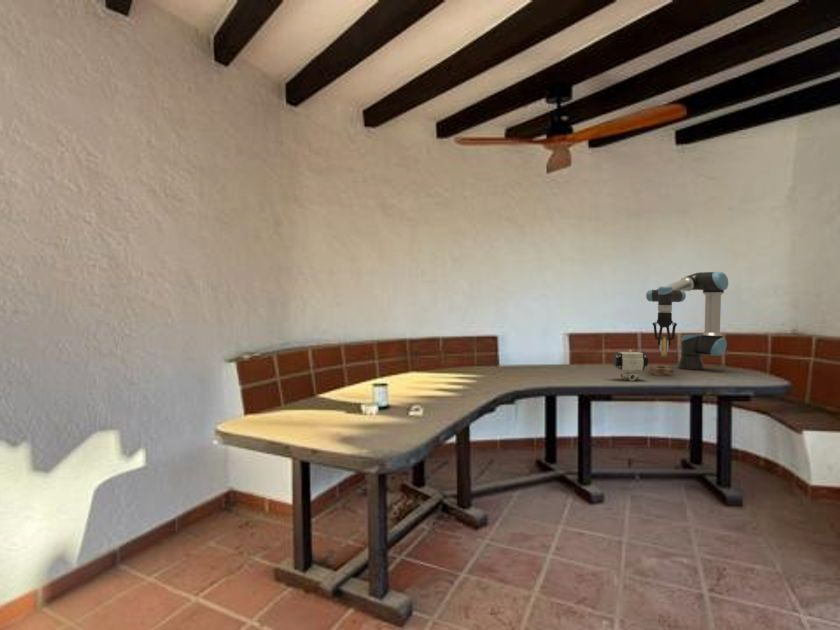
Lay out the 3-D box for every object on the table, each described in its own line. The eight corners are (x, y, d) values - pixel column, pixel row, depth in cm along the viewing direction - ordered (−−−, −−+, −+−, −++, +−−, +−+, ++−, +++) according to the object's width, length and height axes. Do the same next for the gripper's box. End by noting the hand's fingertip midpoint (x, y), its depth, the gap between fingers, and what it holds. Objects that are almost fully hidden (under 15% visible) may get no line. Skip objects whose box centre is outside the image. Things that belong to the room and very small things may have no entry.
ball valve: (616, 381, 278) (617, 350, 277) (612, 378, 287) (612, 348, 286) (648, 381, 277) (649, 351, 276) (643, 378, 285) (643, 349, 284)
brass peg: (666, 356, 291) (666, 336, 290) (667, 357, 288) (667, 337, 287) (660, 356, 292) (661, 336, 291) (661, 357, 289) (661, 337, 288)
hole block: (669, 372, 309) (670, 366, 309) (673, 376, 294) (673, 369, 294) (649, 371, 313) (649, 365, 313) (651, 375, 298) (651, 368, 298)
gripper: (650, 312, 288) (649, 351, 289) (680, 312, 282) (679, 352, 283) (649, 311, 295) (648, 349, 296) (678, 312, 289) (678, 350, 290)
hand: (663, 350), depth 289 cm, fingers closed on brass peg, 3 cm apart
